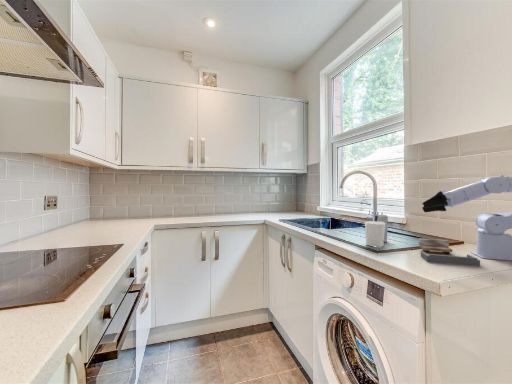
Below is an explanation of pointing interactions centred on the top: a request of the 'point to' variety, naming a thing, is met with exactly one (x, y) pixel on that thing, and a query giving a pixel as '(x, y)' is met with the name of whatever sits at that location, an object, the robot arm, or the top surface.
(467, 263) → the dock
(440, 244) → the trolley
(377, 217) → the energy drink
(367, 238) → the white cup
